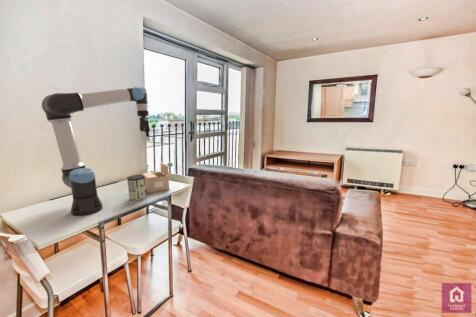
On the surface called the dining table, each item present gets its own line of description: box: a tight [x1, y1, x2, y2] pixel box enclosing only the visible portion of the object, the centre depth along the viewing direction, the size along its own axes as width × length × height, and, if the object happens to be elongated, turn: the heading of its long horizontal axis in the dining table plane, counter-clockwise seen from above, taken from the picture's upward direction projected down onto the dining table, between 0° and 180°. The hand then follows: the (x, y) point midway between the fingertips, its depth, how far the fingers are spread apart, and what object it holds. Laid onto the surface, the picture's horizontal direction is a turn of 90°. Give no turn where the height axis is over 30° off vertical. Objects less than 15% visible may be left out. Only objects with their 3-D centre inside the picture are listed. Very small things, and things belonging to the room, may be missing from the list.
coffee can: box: [126, 174, 147, 201], centre depth 154 cm, size 10×10×14 cm
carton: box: [141, 171, 170, 194], centre depth 173 cm, size 14×18×11 cm
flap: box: [160, 161, 174, 176], centre depth 177 cm, size 8×17×7 cm
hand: (145, 140), depth 171 cm, fingers open, 13 cm apart
